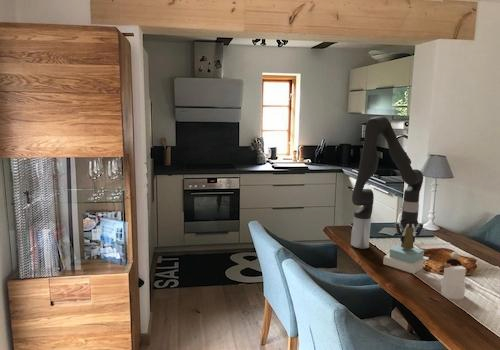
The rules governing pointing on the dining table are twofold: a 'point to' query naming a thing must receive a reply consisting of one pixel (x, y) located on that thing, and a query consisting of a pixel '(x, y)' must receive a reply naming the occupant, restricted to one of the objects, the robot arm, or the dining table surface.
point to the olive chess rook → (408, 239)
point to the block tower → (405, 259)
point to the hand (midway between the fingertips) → (407, 242)
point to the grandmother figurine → (453, 260)
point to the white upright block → (453, 282)
